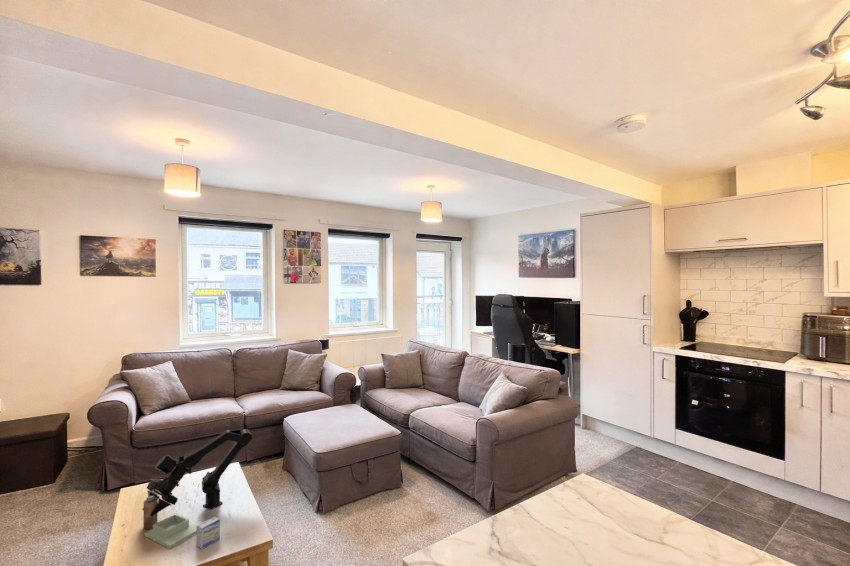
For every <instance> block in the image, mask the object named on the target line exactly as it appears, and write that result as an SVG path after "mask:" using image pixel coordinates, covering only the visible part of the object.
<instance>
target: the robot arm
mask: <svg viewBox="0 0 850 566" xmlns="http://www.w3.org/2000/svg"><path fill="white" fill-rule="evenodd" d="M252 439H253V435H252V433H251V430H249V429H248V428H243V429H226V430H224V431H223V432H222V433H220V434H219V435H217V436H215V437H214V438H213V439H211V440H210V441H208V442H207V443H205V444H203V445H202V446H200V447H198V448H194V449H192V450H189V451H188V452H186V453H185V454H184V455H180V456H178V457H175V458H174V457H172V456H171V455H170V454H168V453H167V454H165V455H164V456H163V457H162V458H160V459H158V461H157V463H156V464H155V466H154V468H155V469H156V470H158V471H160V472H162V473H163V474H165V475H166V474H168V475H167V476H164V477H163V478H162V479H158V478H156V479H155V478H150V480H149V482H148V483H147V487H146V489H147V490H146V492H147V497H149V496H155V498H158V504H157V505H156V507H155V508H154V510H153V511H152V513H151V514H150V516H154V515H155V514H157V513H160V512H161V511H163V510H165V509H166V508H168V507H169V506H172V505H173V506H175V505H176V504H177V502H178V497H177V496H175V495H173V493H172V492H173V490H174V489H175V488H176V487H177V488H178V487H179V486H180V482H181V481H182V479H183V478H184V477H185V475H186V474H189V475H191V474H192V468H194V467H196V465H197V464H199V462H200V461H201V460H202V459H203V458H204V457H205V456H206V455H208V454H209V453H211V452H212V451H214V450H215V449H217V448H218V447H220V446H221V445H223V444H225V442H227V441H232V442H233V445H232V446H231V447H230V449H228V451H227V452H226V453H225V455H224V456H223V458H222V459H221V460H220V461H219V463H218V464H217V466H216V467H215V468H214V469H213V470H212V471H211V472H210V471H206V473H205V475H204V476H203V477H202V478H201V491H202V492H203V493H204V494H205V503H204V504H202V507H204V508H205V509H208V510H213V509H215V508H217V507H219V506H220V505H223V501H221V487H220V483H219V481H220V478H221V476H222V475H223V474H224V472H225V471H226V470H227V468H228V467H229V466H230V465H231V463H232V462H233V461H234V459H235V458H236V457H237V455H238V453H240V451H241V450H243V449H244V448H245V447H246V446H248V445H249V443H251V441H252ZM160 497H161V498H160ZM142 511H143V512H144V506H143V507H142ZM157 515H158V514H157Z"/></svg>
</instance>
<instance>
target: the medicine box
mask: <svg viewBox="0 0 850 566" xmlns="http://www.w3.org/2000/svg"><path fill="white" fill-rule="evenodd" d="M196 525H197V526H196V534H195V535H196V536H195V537H196V541H195V542H196V543H195V545H196V546H197V547H198V548H200V549H202V548H203V549H204V547H205V548H206V547H208V546H211V544H214V543H215V542H217V541H219V540H220V538H221V519H220V518H218V517H217V516H213V517H211V518H209V519H207V520H205V521H203V522H200V523H199V524H196Z"/></svg>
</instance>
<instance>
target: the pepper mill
mask: <svg viewBox="0 0 850 566" xmlns="http://www.w3.org/2000/svg"><path fill="white" fill-rule="evenodd" d="M157 504H158V498H155V496H149V497H148V496H147V497H146V499H145V500H144V501H143V507H144V511H143V516H142V517H143V519H142V520H143V524H142V525H143V527H142V529H143V530H144V531H150V530H152V529H153V525H154V524H156V523H158V513H159V512H158V513H157V514H155V515H154V516H150V514H151V513H152V511H153V510H154V508H155V507H156V505H157Z"/></svg>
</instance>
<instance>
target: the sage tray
mask: <svg viewBox="0 0 850 566" xmlns="http://www.w3.org/2000/svg"><path fill="white" fill-rule="evenodd" d="M197 525H198V524H195V523H193V522H190V519H189V518H186V517H185V516H183V515H180V514H178V513H174V514H172V515H169V516H168V517H165V518H164V519H162V520H160V521H157V523H156V524H154V525H153V529H150V530H147V531H146V532H145V533H144V537H146V538H148V539H151V541H154V542H156V543H158V544H159V545H161V546H163V547H166V548H168V549H169V548H170V549H172V548H174V547H175V545H176V546H177V545H180V544H181V543H182V541H183V542H184V541H186V540H187V538H188V539H189V538H191V537H193V536H195V535H196V526H197ZM194 534H195V535H194ZM192 535H193V536H192ZM173 546H174V547H173Z"/></svg>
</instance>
